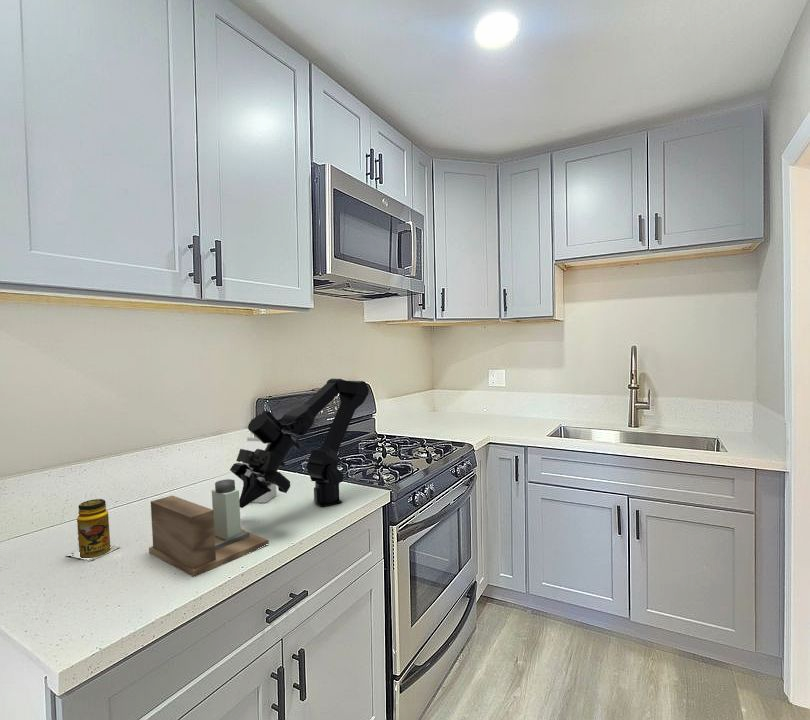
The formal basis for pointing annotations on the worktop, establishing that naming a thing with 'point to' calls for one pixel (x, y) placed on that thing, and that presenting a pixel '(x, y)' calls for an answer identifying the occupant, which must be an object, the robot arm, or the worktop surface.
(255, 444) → the milk carton
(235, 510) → the pale green capped bottle
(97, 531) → the condiment
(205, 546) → the knob mount
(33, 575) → the worktop surface
